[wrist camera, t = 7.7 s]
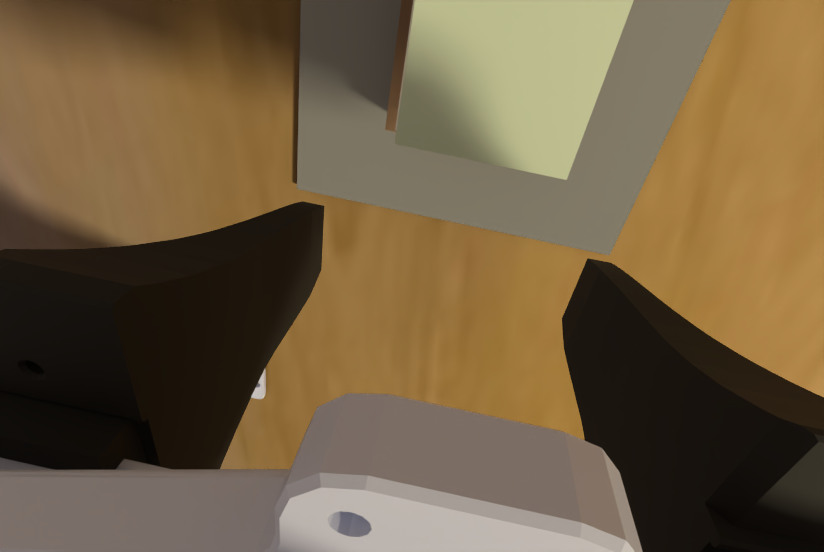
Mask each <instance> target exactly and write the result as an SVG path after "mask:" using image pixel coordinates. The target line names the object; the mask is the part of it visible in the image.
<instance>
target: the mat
mask: <svg viewBox="0 0 824 552" xmlns="http://www.w3.org/2000/svg"><path fill="white" fill-rule="evenodd" d="M401 1H402V0H301V13H300V62H299V110H298V159H297V189H300V190H305V191H310V192H314V193H319V194H324V195H328V196H333V197H338V198H342V199H347V200H352V201H356V202H361V203H366V204H371V205H375V206H380V207H385V208H389V209H394V210H399V211H403V212H408V213H413V214H418V215H422V216H427V217H432V218H436V219H441V220H446V221H450V222H455V223H460V224H465V225H469V226H474V227H479V228H483V229H488V230H493V231H497V232H502V233H507V234H511V235H516V236H521V237H526V238H530V239H535V240H540V241H544V242H549V243H554V244H558V245H563V246H568V247H573V248H577V249H582V250H587V251H591V252H596V253H601V254H605V255H610V253H611V251H612V249H613V247H614V245H615V243H616V241H617V238H618V236H619V234H620V232H621V230H622V228H623V226H624V224H625V222H626V220H627V217H628V215H629V213H630V211H631V209H632V207H633V205H634V203H635V201H636V198H637V196H638V194H639V192H640V190H641V188H642V186H643V184H644V182H645V180H646V177H647V175H648V173H649V171H650V169H651V167H652V165H653V163H654V161H655V159H656V156H657V154H658V152H659V150H660V148H661V146H662V144H663V142H664V140H665V137H666V135H667V133H668V131H669V129H670V127H671V125H672V123H673V121H674V119H675V116H676V114H677V112H678V110H679V108H680V106H681V104H682V102H683V100H684V98H685V95H686V93H687V91H688V89H689V87H690V85H691V83H692V81H693V79H694V76H695V74H696V72H697V70H698V68H699V66H700V64H701V62H702V60H703V58H704V55H705V53H706V51H707V49H708V47H709V45H710V43H711V41H712V39H713V37H714V34H715V32H716V30H717V28H718V26H719V24H720V22H721V20H722V18H723V15H724V13H725V11H726V9H727V7H728V5H729V3H730V1H731V0H634V1H633V4H632V6H631V9H630V12H629V15H628V17H627V20H626V23H625V25H624V28H623V31H622V33H621V36H620V39H619V41H618V44H617V47H616V49H615V52H614V55H613V57H612V60H611V63H610V65H609V68H608V71H607V73H606V76H605V79H604V81H603V84H602V87H601V89H600V92H599V95H598V98H597V100H596V103H595V106H594V108H593V111H592V114H591V116H590V119H589V122H588V124H587V127H586V130H585V132H584V135H583V138H582V140H581V143H580V146H579V148H578V151H577V154H576V156H575V159H574V162H573V164H572V167H571V170H570V172H569V175H568V178H567V180H564V179H559V178H555V177H550V176H545V175H540V174H535V173H531V172H526V171H521V170H516V169H511V168H507V167H502V166H497V165H492V164H488V163H483V162H478V161H473V160H468V159H464V158H459V157H454V156H449V155H444V154H440V153H435V152H430V151H425V150H420V149H416V148H411V147H406V146H401V145H396V144H395V137H396V132H393V131H388V130H385V126H386V119H387V111H388V103H389V95H390V87H391V79H392V71H393V64H394V56H395V48H396V40H397V32H398V24H399V16H400V9H401Z"/></svg>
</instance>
